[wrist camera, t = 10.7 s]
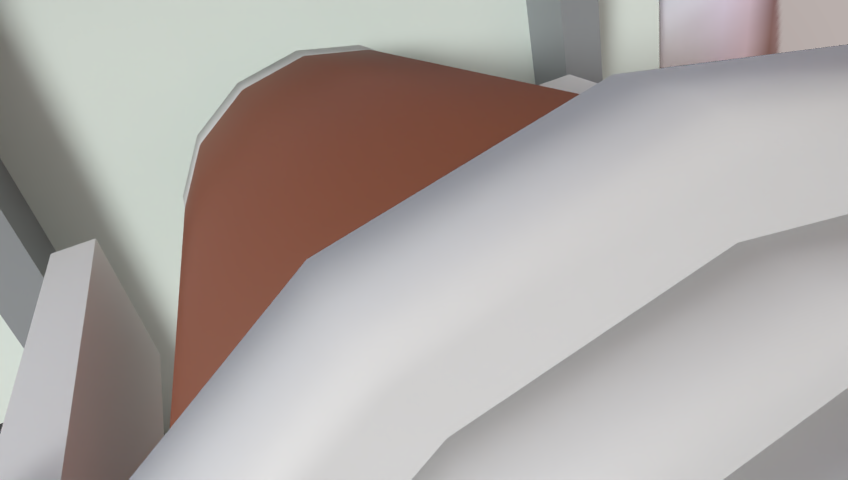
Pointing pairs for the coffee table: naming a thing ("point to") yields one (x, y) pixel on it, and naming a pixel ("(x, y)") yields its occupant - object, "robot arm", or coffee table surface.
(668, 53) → the coffee table surface
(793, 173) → the coffee cup
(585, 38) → the square seat
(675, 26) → the coffee table surface
